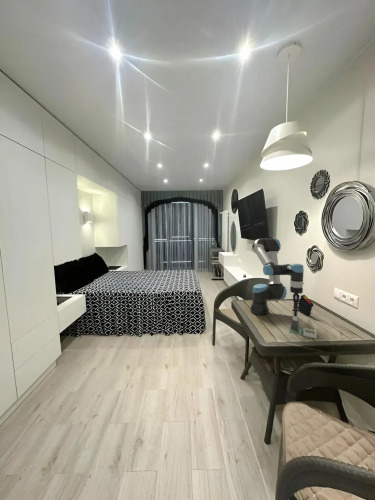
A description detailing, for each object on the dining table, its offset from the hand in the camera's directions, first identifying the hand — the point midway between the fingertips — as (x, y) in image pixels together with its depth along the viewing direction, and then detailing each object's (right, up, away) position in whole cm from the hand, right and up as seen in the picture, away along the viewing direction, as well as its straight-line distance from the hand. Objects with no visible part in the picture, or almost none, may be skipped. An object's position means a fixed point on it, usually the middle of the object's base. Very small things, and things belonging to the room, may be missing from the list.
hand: (295, 316), depth 138 cm
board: (+4, -11, -3) cm, 11 cm away
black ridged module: (+23, -7, +28) cm, 37 cm away
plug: (0, -9, +1) cm, 9 cm away
